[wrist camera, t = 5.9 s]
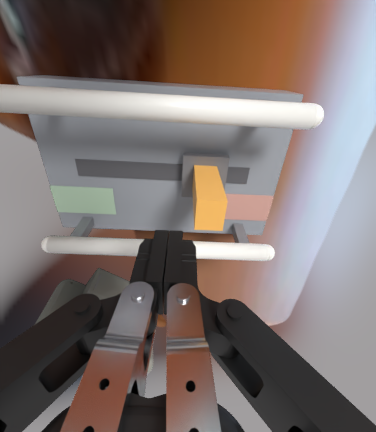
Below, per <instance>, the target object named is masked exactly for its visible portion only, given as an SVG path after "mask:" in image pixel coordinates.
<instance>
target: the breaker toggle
mask: <svg viewBox="0 0 376 432" xmlns="http://www.w3.org/2000/svg"><path fill="white" fill-rule="evenodd" d="M229 159H230V158H229V155H220V154H201V153H183V170H182V193H181V197H193V213H194V230H213V231H223V226H224V220H225V214H226V208H227V203H228V201H227V197H226V194H225V184H226V178H227V172H228V166H229Z"/></svg>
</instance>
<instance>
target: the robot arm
mask: <svg viewBox="0 0 376 432" xmlns="http://www.w3.org/2000/svg"><path fill="white" fill-rule="evenodd" d="M182 237H183V231H175V230H170V232H169V230H155V234H154V239H145V240H144V241H143V242H142V243H141V244H140V246H139V249H138V254H137V257H136V261H135V265H134V268H133V272H132V276H131V280H130V283H129V285H128V286H126V287H125V288H124V290H123V291H122V293H120V294H118V295H116V296H113V297H110V298H106V299H102V300H100V299H99V298H98V297H97V296H96V295H94V294H89V293H88V294H81V295H79V296H76V297H75V298H73V299H72V300H70V301H69V302H67V303H66V304H64V305H63V306H61V307H60V308H58V309H57V310H56V311H54V312H53V313H51V314H50V315H48V316H47V317H45V318H44V319H42V320H41V321H40V322H38V323H37V324H35V325H34V326H32V327H31V328H29V329H28V330H27V331H25V332H23V333H22V334H21V335H19V336H18V337H17V338H15V339H13V340H12V341H10V342H9V343H7V344H6V345H5V346H3V347H2V348H0V432H22V431H23V430H24V429H25V428H26V427H27V426H28V425H30V424H31V423H32V422H33V421H34V420H35V419H36V418H37V417H38V416H39V415H40V414H41V413H42V412H43V411H44V410H45V409H46V408H48V406H50V405H51V404H52V403H53V402H54V401H55V400H56V399H57V398H58V397H59V396H60V395H61V394H62V393H63V392H64V391H65V390H66V389H68V387H70V386H71V385H72V384H73V383H74V382H75V381H76V380H77V379H78V378H79V377H80V376H81V375H82V374H83V373H84V374H83V377H82V379H81V382H80V384H79V386H78V389H77V391H76V394H75V396H74V398H73V401H72V403H71V406H69V407H68V408H66V409H65V410H64V411H62V412H61V413H60V414H59V415H58V416H57V417H55V418H54V419H53V420H52V421H51V422H50V424H48V425H47V426H46V428H45V429H44V430H43V431H42V432H244V430H243V429H242V428H241V426H240V424H239V423H238V422H237V420H236V419H235V418H234V417H233V416H232V415H231V414H230V413H229V412H228V411H227V410H226V409H225V408H223V407H222V406H221V405H219V404H217V399H216V392H215V386H214V379H213V372H212V365H211V358H210V352H211V354H212V356H213V358H214V359H215V360H216V361H217V363H218V364H219V365H220V366H221V368H222V369H223V370H224V371H225V373H226V374H227V375H228V376H229V378H230V379H231V380H232V382H233V383H234V384H235V385H236V387H237V388H238V389H239V390H240V391H241V393H242V394H243V395H244V397H245V398H246V399H247V400H248V402H249V403H250V404H251V405H252V407H253V408H254V409H255V411H256V412H257V413H258V414H259V416H260V417H261V418H262V419H263V420H264V422H265V423H266V424H267V426H268V427H269V428H270V429H271V430H272V432H376V425H375V424H373V423H372V422H371V421H370V420H369V419H368V418H367V417H366V416H365V415H364V414H363V413H362V412H360V411H359V410H358V409H357V408H356V407H355V406H354V405H353V404H352V403H351V402H349V400H347V399H346V398H345V397H344V396H343V395H342V394H341V393H340V392H339V391H338V390H337V389H336V388H335V387H333V386H332V385H331V384H330V383H329V382H328V381H327V380H326V379H325V378H324V377H323V376H322V375H320V374H319V373H318V372H317V371H316V370H315V369H314V368H313V367H312V366H311V365H310V364H309V363H308V362H306V361H305V360H304V359H303V358H302V357H301V356H300V355H299V354H298V353H297V352H296V351H294V350H293V349H292V348H291V347H290V346H289V345H288V344H287V343H286V342H285V341H284V340H283V339H281V337H279V336H278V335H277V334H276V333H275V332H274V331H273V330H272V329H271V328H270V327H269V326H268V325H266V324H265V323H264V322H263V321H262V320H261V319H260V318H259V317H258V316H257V315H256V314H255V313H254V312H252V311H251V310H250V309H249V308H248V307H247V306H246V305H245V304H244V303H242V302H240V301H238V300H235V299H226V300H224V301H222V302H221V303H218V302H215V301H212V300H210V299H208V298H206V297H205V296H203V295H202V294H201V292H200V291H199V289H198V285H197V262H196V246H195V245H194V243H193V241H192V240H182ZM163 308H164V314H167V376H166V380H167V383H166V387H167V388H166V394H163V395H160V396H157V397H154V398H145V397H144V395H145V389H146V378H147V372H148V367H149V362H150V357H151V352H152V347H153V342H154V337H155V330H156V325H157V318H158V314H163Z"/></svg>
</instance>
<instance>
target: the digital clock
mask: <svg viewBox="0 0 376 432" xmlns="http://www.w3.org/2000/svg"><path fill="white" fill-rule="evenodd" d="M129 283H130V281H127V280H125V279H123V278H120V277H118V276H116V275H114V274H112V273H109V272H107V271H105V270H103V269H101V268H98V269H97V270H96V272H95V273H94V275H93V276H92V277H91V279H90V280H89V281H88V283H87V284H86V285H84V284H82V283H79V282H77V281H74V280H71V279H67V280H63V281H62V282H60V283H59V284H58V286H57V288H56V289H55V291H54V292H53V294H52V296H51V298H50V299H49V301H48V303H47V304H46V306H45V308H44V310H43V311H42V313H41V315H40V317H39V318H38V320H37V322H36V323H35V324H37V323H38V322H40V321H41V320H42V319H44V318H45V317H47V316H48V315H50V314H51V313H53V312H54V311H56V310H57V309H58V308H60V307H61V306H63V305H64V304H66V303H67V302H69V301H70V300H72V299H73V298H75V297H76V296H79V295H81V294H88V293H89V294H94V295H96V296H97V297H98V298H99V299H100V300H102V299H106V298H110V297H113V296H116V295H118V294H120V293H122V291H123V290H124V288H125V287H126V286H128V285H129ZM152 368H153V347H152V352H151V357H150V362H149V367H148V372H147V373H149V372H151V370H152Z"/></svg>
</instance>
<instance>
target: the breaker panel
mask: <svg viewBox="0 0 376 432" xmlns="http://www.w3.org/2000/svg"><path fill="white" fill-rule="evenodd" d="M17 79H18V83H19V85H6V84H0V112H5V113H22V114H28V115H29V118H30V122H31V125H32V128H33V131H34V135H35V138H36V141H37V144H38V148H39V151H40V154H41V157H42V160H43V164H44V167H45V170H46V173H47V177H48V180H49V183H50V189H51V192H52V195H53V198H54V202H55V205H56V208H57V211H58V212H59V216H60V219H61V222H62V225H63V227H74V228H75V229H74V231H73V233H72V234H71V235H70V236H48V237H46V238H44V239H43V241H42V243H41V247H42V249H43V250H44V251H45V252H47V253H61V254H88V255H115V256H137V254H138V249H139V246H140V244H141V243H142V242H143V241H144V240H145V239H125V238H98V237H88V235H89V233H90V232H91V229H92V228H100V229H125V230H148V231H155V230H169V231H170V230H175V231H183V232H197V233H222V234H233V237H234V240H235V243H227V242H202V241H193V243H194V245H195V246H196V259H224V260H251V261H269V260H271V259H272V258H273V257H274V255H275V251H274V249H273V247H272V246H270V245H268V244H252V243H249V240H248V238H247V235H262V233H263V230H264V226H265V223H266V221H267V218H268V214H269V211H270V208H271V204H272V201H273V198H274V193H275V189H276V186H277V183H278V179H279V176H280V172H281V169H282V166H283V162H284V159H285V156H286V152H287V149H288V146H289V142H290V139H291V135H292V132H293V129H301V130H311V129H314V128H316V127H317V126H318V125H319V124H320V123H321V122H322V120H323V118H324V111H323V109H322V107H321V106H320V105H318V104H314V103H301V102H302V98H303V94H299V93H294V92H290V91H286V90H271V89H256V88H240V87H224V86H208V85H192V84H177V83H161V82H145V81H129V80H113V79H98V78H82V77H66V76H50V75H38V76H20V77H17ZM183 153H201V154H220V155H229V158H230V159H229V166H228V172H227V178H226V184H225V194H226V197H227V201H228V203H227V208H226V214H225V220H224V226H223V231H213V230H194V213H193V197H181V193H182V170H183Z"/></svg>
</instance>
